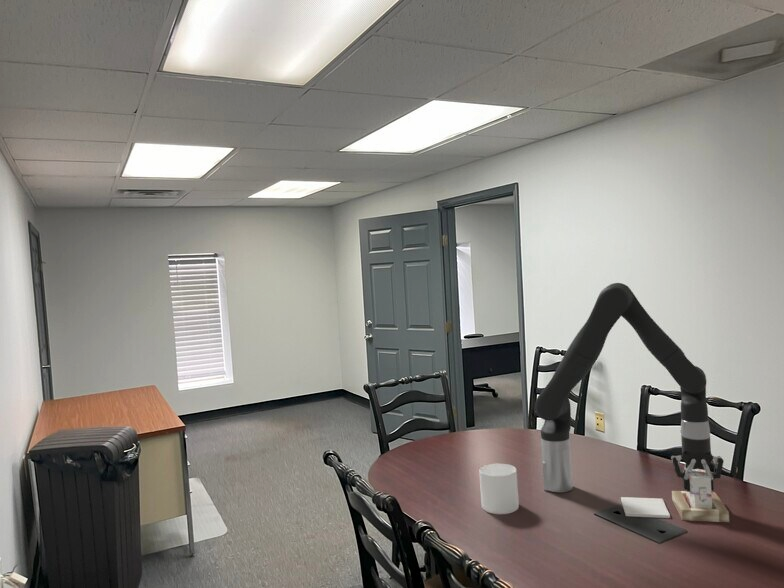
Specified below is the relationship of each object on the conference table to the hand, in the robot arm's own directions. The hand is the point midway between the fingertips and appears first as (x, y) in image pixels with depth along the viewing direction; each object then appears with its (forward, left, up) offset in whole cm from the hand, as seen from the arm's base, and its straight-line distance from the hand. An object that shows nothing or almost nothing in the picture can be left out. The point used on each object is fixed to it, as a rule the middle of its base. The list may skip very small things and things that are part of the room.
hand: (698, 490), depth 167 cm
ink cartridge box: (0, 0, -6) cm, 6 cm away
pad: (-15, 0, -6) cm, 16 cm away
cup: (-58, -3, -6) cm, 58 cm away
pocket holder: (0, 0, -6) cm, 6 cm away
